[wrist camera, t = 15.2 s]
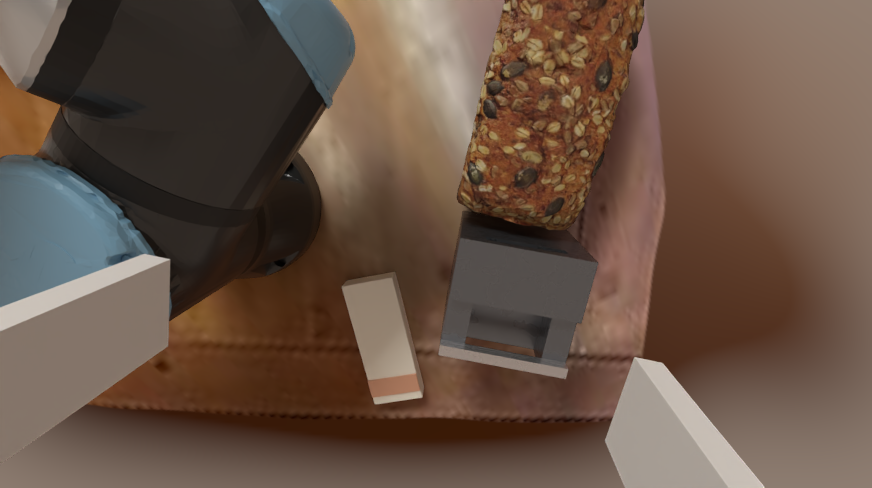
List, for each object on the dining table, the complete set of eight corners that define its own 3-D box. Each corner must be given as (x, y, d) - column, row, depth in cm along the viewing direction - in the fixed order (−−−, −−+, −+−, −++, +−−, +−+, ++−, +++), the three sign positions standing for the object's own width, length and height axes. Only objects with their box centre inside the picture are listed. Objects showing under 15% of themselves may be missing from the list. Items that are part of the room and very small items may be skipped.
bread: (506, -11, 38) (518, -59, 28) (624, 18, 38) (676, -21, 28) (454, 193, 43) (449, 212, 33) (558, 219, 43) (583, 245, 33)
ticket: (379, 391, 50) (374, 405, 47) (347, 279, 46) (340, 287, 44) (424, 384, 49) (422, 398, 46) (396, 270, 46) (391, 278, 43)
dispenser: (445, 302, 46) (438, 355, 35) (462, 210, 43) (460, 237, 32) (542, 320, 45) (565, 379, 34) (565, 229, 43) (598, 262, 32)
